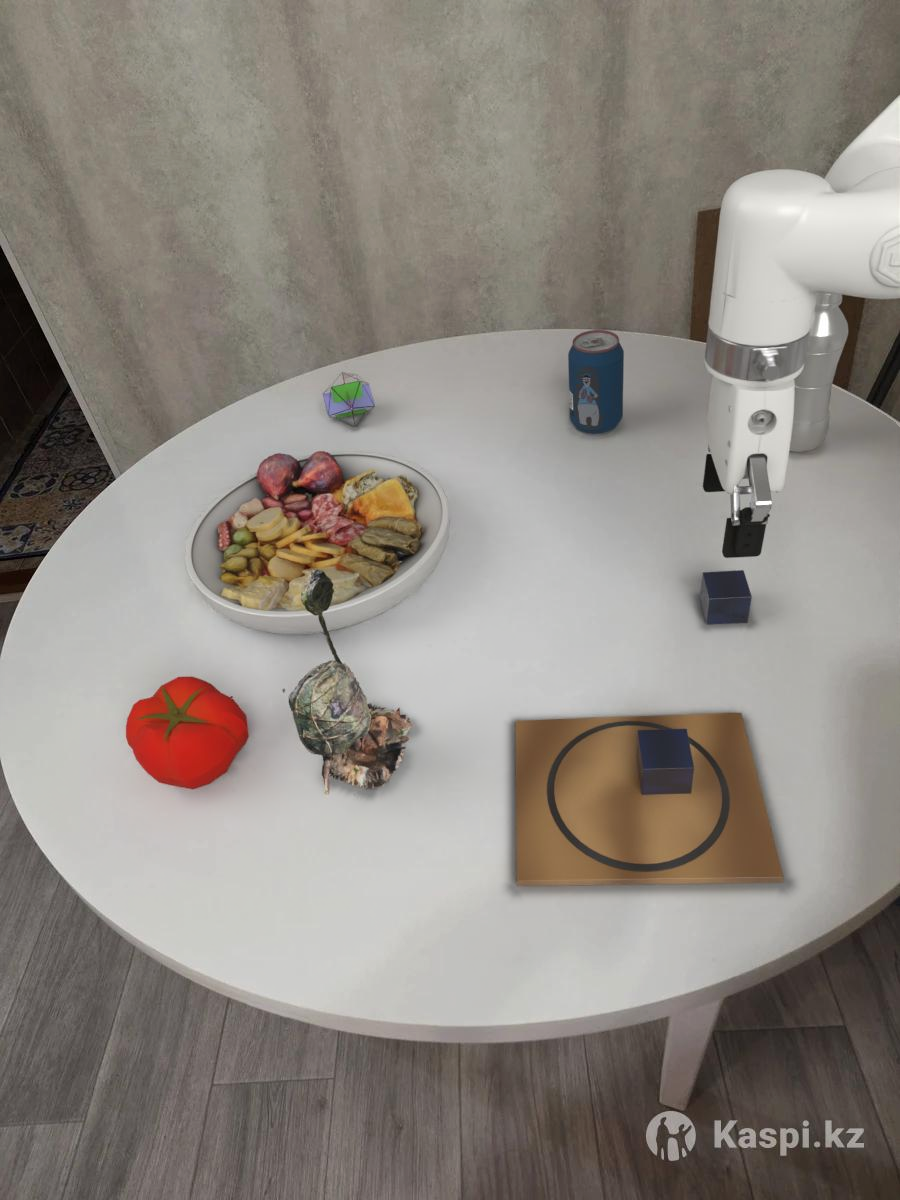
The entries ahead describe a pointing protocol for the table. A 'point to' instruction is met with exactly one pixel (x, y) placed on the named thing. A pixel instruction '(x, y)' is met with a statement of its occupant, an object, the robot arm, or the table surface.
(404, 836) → the table surface
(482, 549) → the table surface
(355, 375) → the geometric puzzle
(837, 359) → the plastic bottle
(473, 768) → the table surface
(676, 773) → the dark blue cube
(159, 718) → the tomato
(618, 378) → the soda can
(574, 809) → the board
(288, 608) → the bowl
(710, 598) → the dark blue block
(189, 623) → the table surface
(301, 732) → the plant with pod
